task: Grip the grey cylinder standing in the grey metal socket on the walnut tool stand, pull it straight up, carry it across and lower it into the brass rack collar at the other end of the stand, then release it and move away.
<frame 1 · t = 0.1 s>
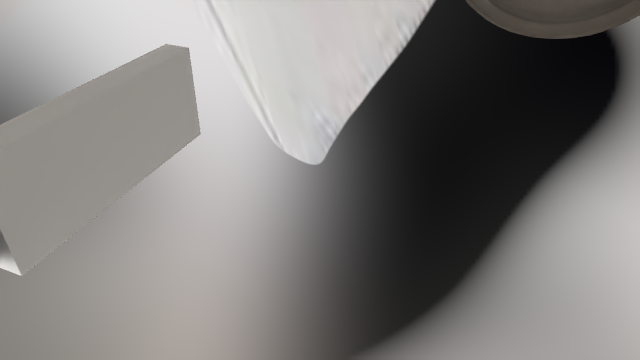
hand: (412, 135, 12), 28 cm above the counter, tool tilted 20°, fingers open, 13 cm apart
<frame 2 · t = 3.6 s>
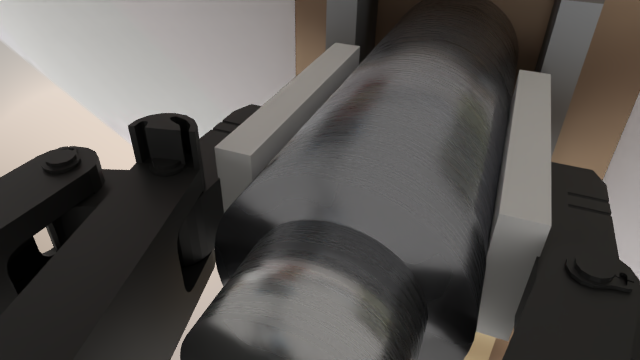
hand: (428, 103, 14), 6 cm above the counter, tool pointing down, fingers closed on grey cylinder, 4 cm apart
tool stand: (434, 167, 21), on the counter
grey cylinder: (451, 56, 17), point 1 cm above the counter, touching gripper, tool stand
when the fingers open (7 cm above the counter, at t = 10.4 s): grey cylinder stays where it is, resting on tool stand.
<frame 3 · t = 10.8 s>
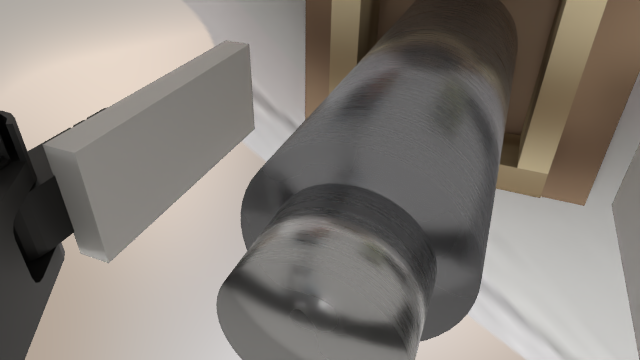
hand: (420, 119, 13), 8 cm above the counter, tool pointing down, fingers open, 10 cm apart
grey cylinder: (453, 47, 18), point 2 cm above the counter, touching tool stand
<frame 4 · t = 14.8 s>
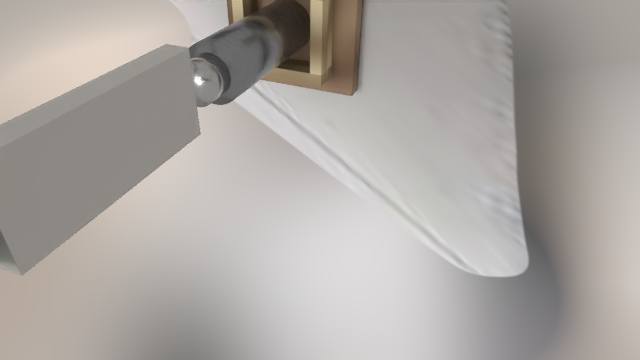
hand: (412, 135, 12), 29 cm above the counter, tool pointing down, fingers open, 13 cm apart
grey cylinder: (288, 24, 42), point 2 cm above the counter, touching tool stand
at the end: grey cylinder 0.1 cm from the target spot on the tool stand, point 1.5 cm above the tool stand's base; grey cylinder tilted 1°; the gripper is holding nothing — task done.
